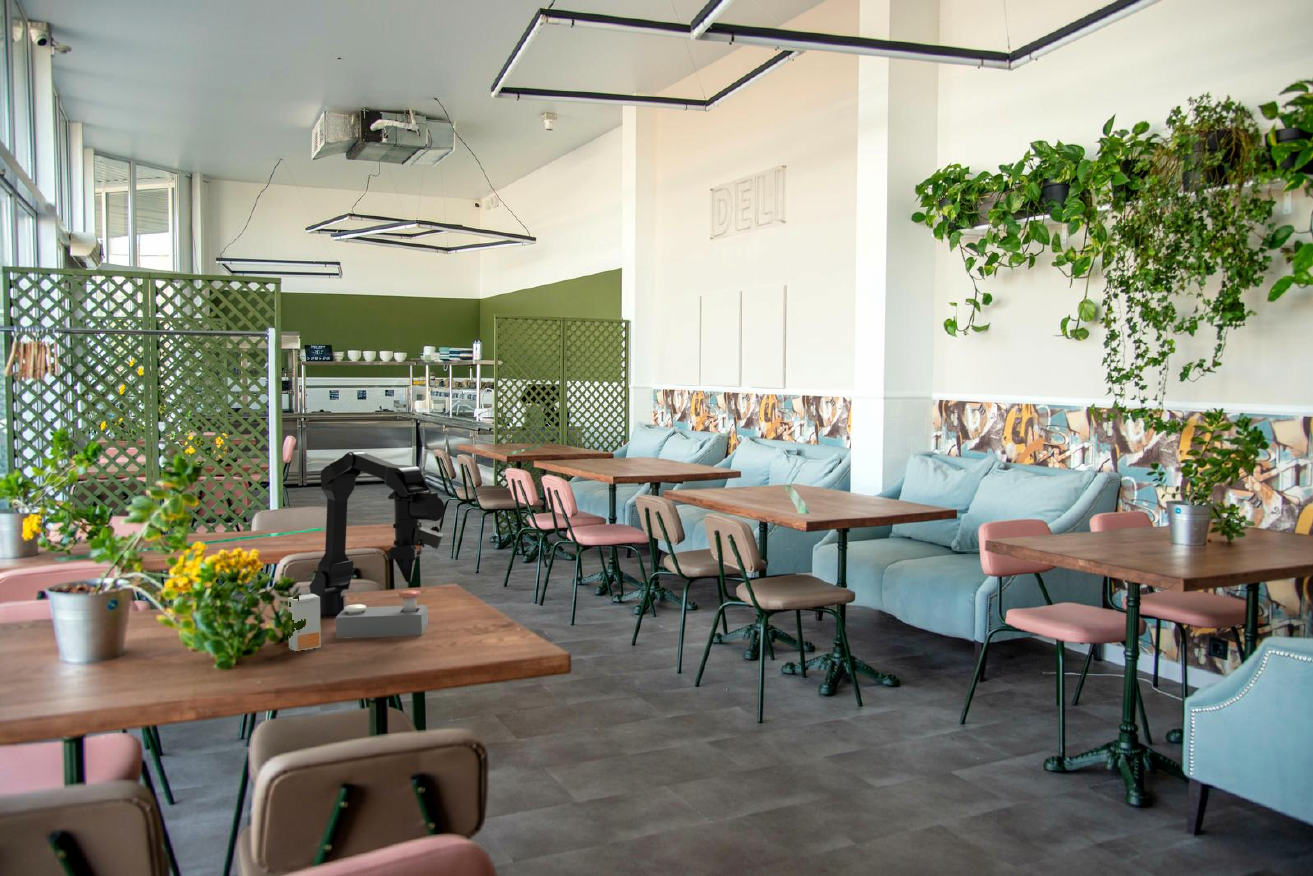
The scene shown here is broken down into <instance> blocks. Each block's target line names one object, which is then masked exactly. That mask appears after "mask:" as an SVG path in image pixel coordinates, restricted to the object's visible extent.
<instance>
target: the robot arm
mask: <svg viewBox="0 0 1313 876" xmlns="http://www.w3.org/2000/svg"><path fill="white" fill-rule="evenodd" d="M363 473H365V474H368V475H370V476H373V477H374V478H378V479H380V480H382V481H384V484H385V486H386V487H388V488H389V489H391V490H392V492H391V493H390V494H389V495H388V496H387V499H388V500H393V504H394V506H393V509H394V523H392V525H393V526H392V527H393V528H392V529H394V540H393V546H392V547H390V548H389V549H388V550H387V559H388V560H394V562H395V564H396V566H397V567H398V568H399V571H400V573H401V575H402V577H403V579H404V582H405V583H411V582H412V579H413V574H414V569H415V564H416V559H417V558H418V557H420V555H421V553H422V552H423V550H418V548H417V547H421V548H426V546H429V547H431V548H433V549H439V548H440V547H441V544H442V541H443V538H444V532H441V527H440V526H437V525H433V526H432V527H431V528H429V527H427V528H426V527H423V523H422V521H429V522H437V521H440V520H441V519H442V518H443V516H444V515H445V511H446V506H445V504H444V502H443V500H442V498H440V497H439V493H438V491H433V492H432V490H431V489H430V486H429V485H428V483H427V481H426V479H425V478H424V475H423V473H422V472H421V469H420V467H418V466H417V465H410V464H409V465H408V464H394V463H392V462H389V461H386V460H384V459H381V458H379V457H376V456H373V455H372V454H368V453H367V452H366V451H363V450H357V451H348V452H347V453H345V454H344V455H343V456H342V457H340V458H338V459H336V460H335V461H333V462H330V464H328V465H326V466H325V467H323V468H322V469H321V471H320V486H321V487H320V488H321V490H322V492H323V494H324V495H325V498H326V501H327V503H326V526H325V547H324V548H325V550H324V554H323V556H322V558H321V559H320V561H319V563H317V564H318V566H317V570H316V571H317V572H316V575H315V576H314V578H313V580H312V581H311V583H310V584H309V585H308V586H309V587H308V588H309V591H310V594H315V595H317V596H319V597H320V619H322V618H336V617H337V616H338V615H339V614H340V613H341V612H342V611H343V610H344V607H346V606H347V597H346V595H344V594H345V593H344V591H345V590H346V591H347V590H349V588H350V585H351V581H352V579H353V576H354V572H353V571H354V562H353V560H350V559H349V557H348V556H347V553H346V546H347V545H346V543H347V527H348V526H347V524H348V521H347V519H348V502H349V501H348V500H349V498H350V496H351V495H352V493H353V492H354V490H355V486H356V480H357V478H359V476H360V475H362V474H363Z"/></svg>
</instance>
